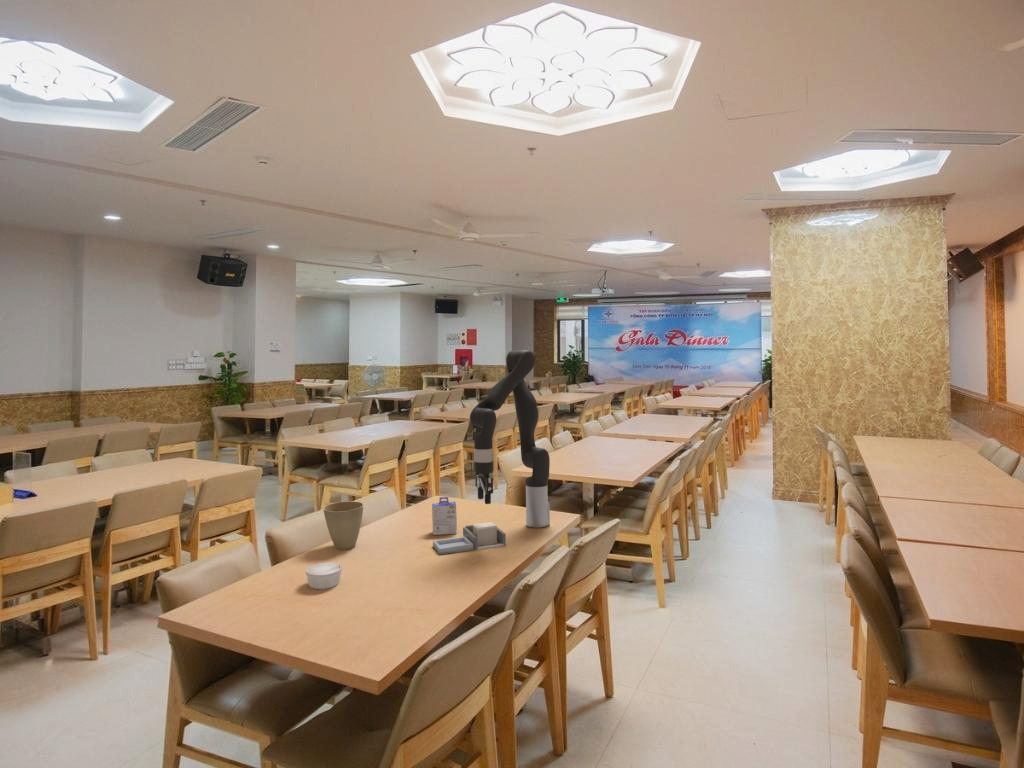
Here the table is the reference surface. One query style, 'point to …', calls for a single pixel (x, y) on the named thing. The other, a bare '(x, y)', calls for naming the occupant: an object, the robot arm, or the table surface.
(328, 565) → the ramekin
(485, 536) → the tall cream box
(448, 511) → the ink cartridge box
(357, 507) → the plant pot
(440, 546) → the tray
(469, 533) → the frame
